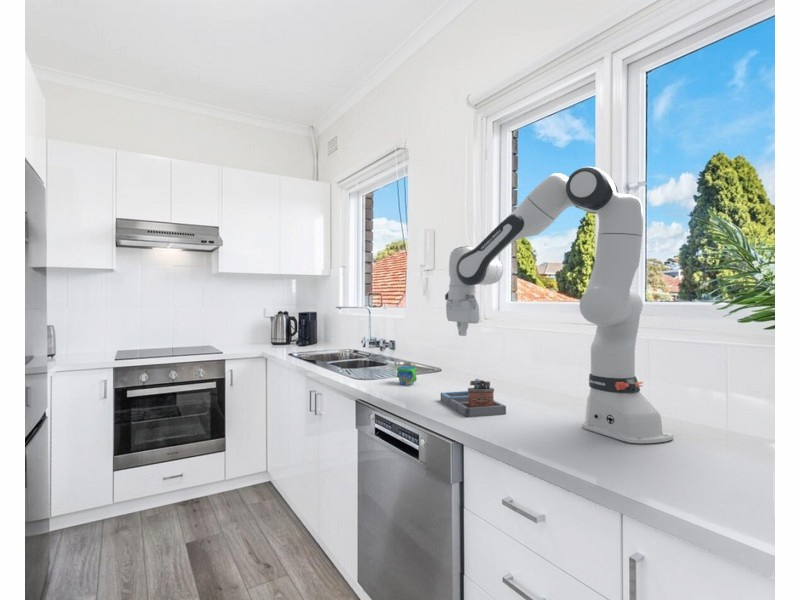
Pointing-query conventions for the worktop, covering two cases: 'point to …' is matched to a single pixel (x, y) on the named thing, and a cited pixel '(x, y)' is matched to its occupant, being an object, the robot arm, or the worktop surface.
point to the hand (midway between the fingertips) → (462, 335)
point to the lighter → (481, 394)
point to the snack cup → (406, 375)
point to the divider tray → (461, 404)
